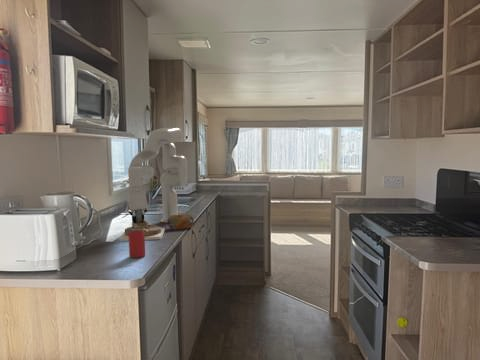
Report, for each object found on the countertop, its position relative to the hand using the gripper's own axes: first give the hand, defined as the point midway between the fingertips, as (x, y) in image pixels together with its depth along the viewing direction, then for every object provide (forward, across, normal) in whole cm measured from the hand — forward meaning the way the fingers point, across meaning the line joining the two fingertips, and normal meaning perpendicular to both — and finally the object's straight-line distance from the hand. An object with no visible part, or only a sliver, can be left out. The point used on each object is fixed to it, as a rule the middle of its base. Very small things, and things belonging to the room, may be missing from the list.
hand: (138, 221), depth 196 cm
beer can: (+6, +14, +43) cm, 46 cm away
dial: (+5, -1, +6) cm, 7 cm away
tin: (+7, -24, +1) cm, 25 cm away
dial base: (+6, 0, +6) cm, 9 cm away
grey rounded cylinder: (+3, 0, 0) cm, 3 cm away
